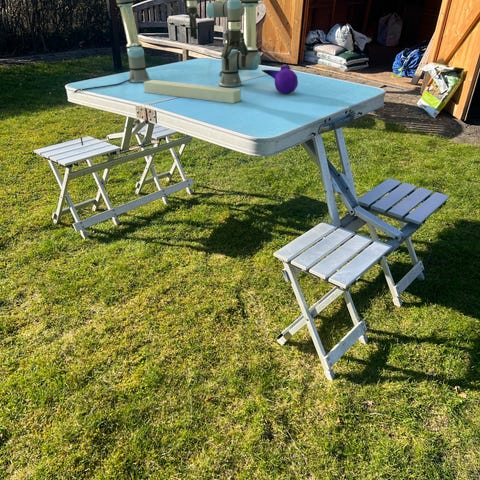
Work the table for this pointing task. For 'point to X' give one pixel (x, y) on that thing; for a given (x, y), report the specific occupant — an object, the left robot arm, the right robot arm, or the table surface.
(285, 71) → the toy
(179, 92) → the beige rectangular bar
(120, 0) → the left robot arm
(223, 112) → the table surface
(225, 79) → the right robot arm
